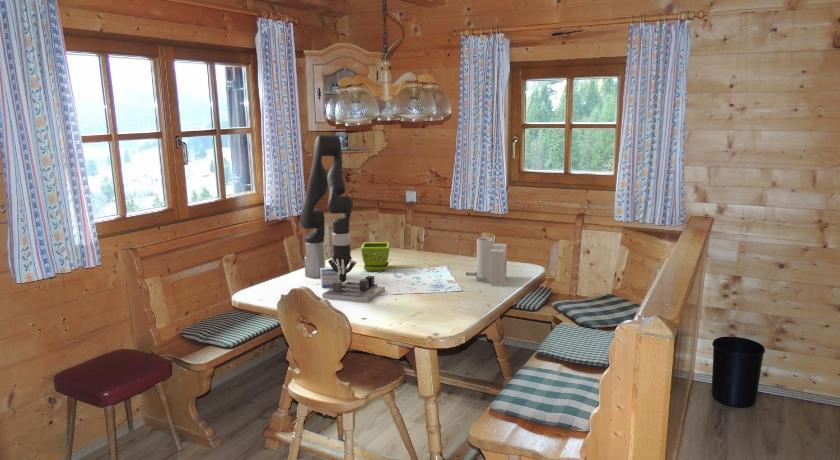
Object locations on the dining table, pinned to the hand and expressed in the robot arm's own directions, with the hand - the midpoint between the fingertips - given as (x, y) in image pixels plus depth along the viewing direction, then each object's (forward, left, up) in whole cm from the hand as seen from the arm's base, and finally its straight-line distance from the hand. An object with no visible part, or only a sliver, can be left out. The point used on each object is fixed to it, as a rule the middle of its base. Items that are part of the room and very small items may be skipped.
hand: (342, 281), depth 270 cm
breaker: (-3, 0, -5) cm, 6 cm away
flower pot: (-7, +50, -8) cm, 51 cm away
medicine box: (-15, +15, -8) cm, 22 cm away
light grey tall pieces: (+52, +45, -8) cm, 69 cm away
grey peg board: (+2, +6, -7) cm, 10 cm away
